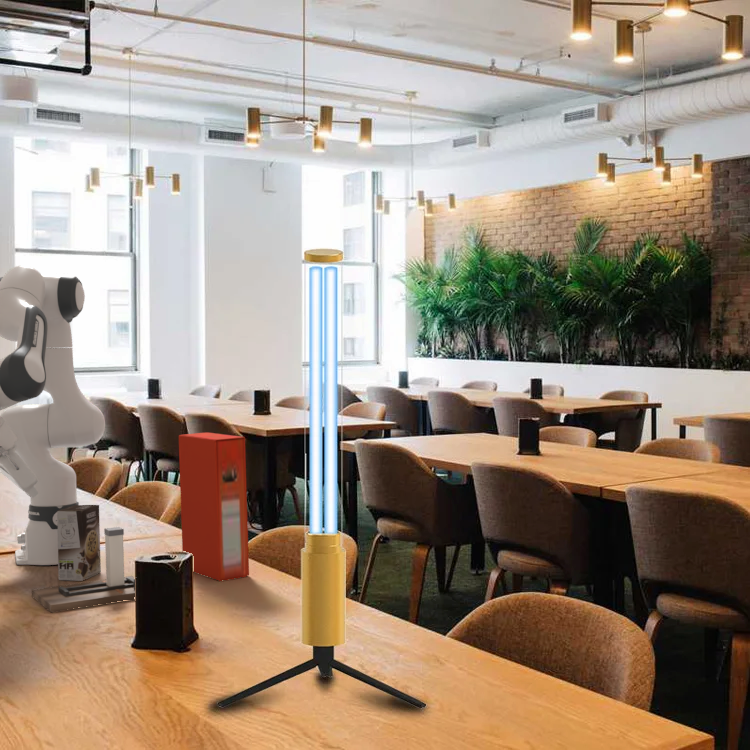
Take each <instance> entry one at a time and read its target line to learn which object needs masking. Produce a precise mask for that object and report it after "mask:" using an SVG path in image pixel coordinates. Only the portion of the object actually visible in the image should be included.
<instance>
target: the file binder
mask: <svg viewBox="0 0 750 750" xmlns="http://www.w3.org/2000/svg"><path fill="white" fill-rule="evenodd" d="M178 456H179V460H178V461H179V482H180V483H179V486H180V490H179V491H180V492H179V493H180V516H181V518H180V519H181V521H180V522H181V542H182V543H181V547H182V548H181V549H182V552H183V551H186V552H189V553H192V554H193V556H194V572H196V573H195V574H197V573H199V574H202V575H205V576H208V577H211V578H213V579H212V580H214V579H216V580H215V581H217V580H219V581H218V582H220V581H221V582H223V581H222V580H226V581H229V580H228V579H231V580H235V579H234V578H236V579H240V577H242V578H247V577H248V576H249V575H250V564H249V563H250V557H249V529H248V527H249V525H248V501H247V499H248V495H247V468H246V467H247V466H246V465H247V463H246V438H245V436H239V435H232V434H231V435H230V434H223V433H214V432H208V431H207V432H195V433H187V434H179V435H178ZM194 572H193V573H194ZM199 574H198V575H199ZM202 575H201V576H202ZM205 576H204V577H205ZM246 576H247V577H246ZM208 577H207V578H208ZM211 578H210V579H211Z"/></svg>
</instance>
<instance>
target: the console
mask: <svg viewBox="0 0 750 750" xmlns="http://www.w3.org/2000/svg"><path fill="white" fill-rule="evenodd" d="M134 577H135V576H134V575H128V576H124V585H118V586H111V587H109V586H108V585H106V578H104V579H98V580H93V581H91V580H90V581H85V582H84V581H82V582H76V583H70V584H63V585H55V586H49V587H48V586H47V587H41V588H33V589H31V597H32V598H33V597H34V598H35V599H34V598H33V599H34V600H36V601H37V602H38V603H39V604H40V605H41V606H43V608H45V609H46V608H47V609H48V612H50V613H56V611H58V612H62V611H61V610H65V611H68V610H67V609H71V610H74V609H73V608H78V607H85V608H87V607H86V606H92V607H94V606H93V605H98V604H105V605H107V604H106V603H111V602H117V601H123V600H132V601H135V600H134V597H135V579H134ZM98 606H99V605H98ZM47 609H46V610H47ZM78 609H79V608H78Z"/></svg>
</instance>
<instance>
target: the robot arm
mask: <svg viewBox="0 0 750 750" xmlns="http://www.w3.org/2000/svg"><path fill="white" fill-rule="evenodd" d="M85 297H86V296H85V290H84V288H83V283H82V281H81V280H80V279H79V278H78V277H77V276H75V275H71V274H68V273H67V274H65V273H62V274H57V273H56V274H55V273H41V272H40V271H38V270H37V269H35V268H34V267H31V266H28V265H16V266H13V267H12V268H10V269H9V270H7V272H6V273H5V274H4V275H3V276H1V277H0V337H1V338H3V339H4V340H5V339H6V340H7V341H11V342H16V348H15V349H14V350H13V351H12V352H11V353H9V354H8V355H7V356H4V357H2V358H0V411H2V410H3V411H2V412H1V413H0V473H1V474H2V475H3V476H5V478H6V479H8V480H9V481H11V482H12V483H13V484H14V485H16V486H17V487H18V488H19V489H21V491H23V492H25V494H26V495H27V496H28V497H30V498H29V499H30V504H29V506H28V511H27V512H28V519H29V520H28V522H27V524H26V526H25V528H24V530H23V532H21V533H20V534H17V540H16V541H17V545H21V546H20V548H18V549H16V550H15V551H14V552H15V553H14V557H15V564H16V565H33V566H34V565H35V566H51V565H52V566H53V565H55V566H56V565H58V519H57V511H58V510H62V509H65V508H68V507H71V506H74V505H80V503H79V501H78V496H77V495H78V493H77V474H76V471H75V470H74V468H73V467H72V466H70V465H68V463H65V462H63V461H60V460H58V459H56V458H55V457H54V456H53V455H52V452H51V449H55V448H61V449H62V448H80V447H84V446H89V445H93V444H97V443H99V441H100V440H101V439H102V437H103V436H104V433H105V430H106V421H105V416H104V414H103V412H102V411H101V409H100V408H99V407H98V406H97V405H95V404H94V403H92V402H91V401H90V400H89V399H88V398H87V397H86V396H85V394H83V392H82V391H81V389H80V387H79V385H78V383H77V380H76V375H75V368H74V367H75V366H74V357H73V356H74V355H73V353H74V352H73V351H74V350H73V339H72V338H73V336H72V329H71V322H73V319H75V318H76V317H78V316H79V314H80V313H81V312H82V310H83V308H84V303H85ZM43 391H45V392H46V393H49V395H50V396H51V398H52V401H53V402H52V403H38V404H37V403H34V404H32V403H31V404H29V403H28V404H20V405H16V404H19V403H21V402H25V401H28V400H31V399H34V398H38V397H39V396H41V394H42V393H43ZM14 405H15V406H14Z"/></svg>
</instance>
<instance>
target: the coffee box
mask: <svg viewBox="0 0 750 750" xmlns="http://www.w3.org/2000/svg"><path fill="white" fill-rule="evenodd" d="M57 519H58V564H57V566H58V568H57V569H58V580H59V581H71V582H72V581H73V582H75V581H76V582H84V581H86V580H87V579H90V578H92V577H94V576H97V575H98V573H99V574H100V572H101V571H102V570H101V567H102V566H101V562H102V561H101V531H100V530H101V529H100V527H101V526H100V504H81V505H80V504H79V505H74V506H71V507H68V508H65V509H62V510H58V511H57ZM85 579H86V580H85ZM83 580H84V581H83Z"/></svg>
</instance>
